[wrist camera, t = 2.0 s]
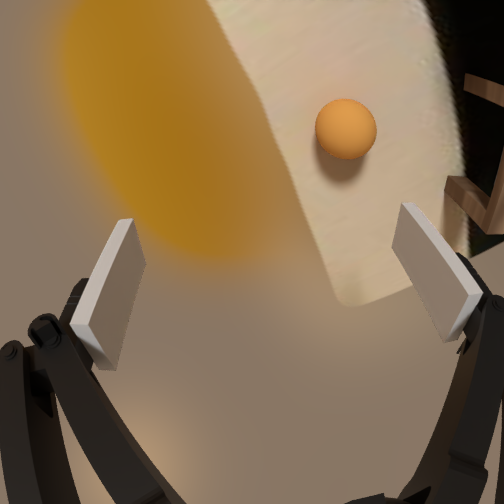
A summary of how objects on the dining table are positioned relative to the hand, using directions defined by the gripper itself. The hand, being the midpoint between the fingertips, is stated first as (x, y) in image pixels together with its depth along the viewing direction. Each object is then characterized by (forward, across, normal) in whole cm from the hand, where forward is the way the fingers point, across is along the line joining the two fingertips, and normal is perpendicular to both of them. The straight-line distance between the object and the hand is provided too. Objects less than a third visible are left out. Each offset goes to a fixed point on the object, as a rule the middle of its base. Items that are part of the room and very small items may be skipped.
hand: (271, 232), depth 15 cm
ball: (+14, +8, +1) cm, 16 cm away
